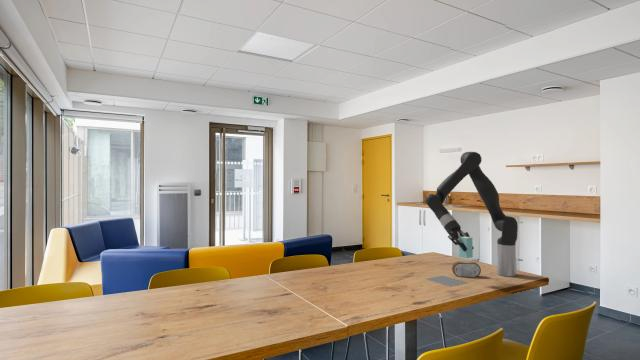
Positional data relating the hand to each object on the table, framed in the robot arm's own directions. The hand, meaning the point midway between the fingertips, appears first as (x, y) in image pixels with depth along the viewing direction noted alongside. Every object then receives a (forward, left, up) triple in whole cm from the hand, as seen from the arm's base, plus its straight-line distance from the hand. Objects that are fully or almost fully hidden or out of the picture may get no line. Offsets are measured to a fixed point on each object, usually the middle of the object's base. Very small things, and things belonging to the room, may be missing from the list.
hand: (469, 249), depth 186 cm
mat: (+6, -9, -18) cm, 21 cm away
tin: (-12, -11, -18) cm, 24 cm away
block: (0, -2, -4) cm, 4 cm away
